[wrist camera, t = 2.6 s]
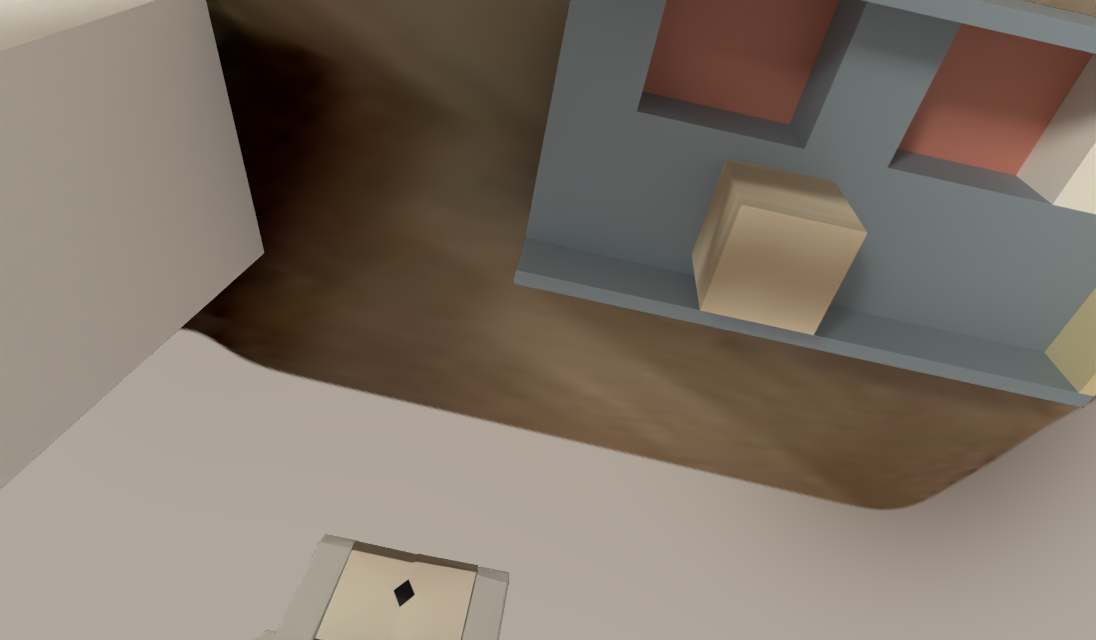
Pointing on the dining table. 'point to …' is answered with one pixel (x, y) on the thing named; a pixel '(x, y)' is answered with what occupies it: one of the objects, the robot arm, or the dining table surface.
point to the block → (774, 246)
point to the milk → (107, 200)
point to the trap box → (841, 170)
